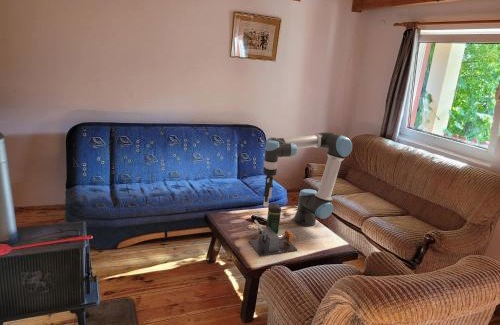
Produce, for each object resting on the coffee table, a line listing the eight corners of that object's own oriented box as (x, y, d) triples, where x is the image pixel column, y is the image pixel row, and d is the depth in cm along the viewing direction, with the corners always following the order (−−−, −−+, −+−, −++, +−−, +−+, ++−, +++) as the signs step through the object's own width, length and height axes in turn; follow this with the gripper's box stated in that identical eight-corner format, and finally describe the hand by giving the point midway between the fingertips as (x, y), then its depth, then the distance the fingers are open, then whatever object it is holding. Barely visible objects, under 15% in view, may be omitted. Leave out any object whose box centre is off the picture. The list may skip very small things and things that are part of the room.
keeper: (260, 231, 208) (262, 230, 208) (265, 236, 202) (267, 235, 203) (253, 220, 203) (255, 218, 204) (257, 225, 198) (259, 223, 198)
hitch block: (283, 237, 222) (285, 220, 219) (297, 250, 208) (299, 233, 204) (248, 241, 213) (250, 224, 210) (259, 256, 198) (261, 238, 195)
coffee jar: (279, 235, 224) (282, 208, 219) (266, 234, 223) (269, 207, 218) (277, 228, 233) (280, 202, 228) (265, 227, 233) (267, 201, 227)
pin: (286, 238, 217) (288, 229, 215) (291, 243, 211) (292, 234, 210) (264, 241, 211) (265, 232, 209) (269, 246, 206) (270, 237, 204)
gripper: (266, 160, 215) (264, 193, 221) (260, 173, 192) (257, 209, 198) (279, 162, 214) (276, 194, 220) (274, 175, 191) (271, 211, 197)
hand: (267, 201), depth 209 cm, fingers open, 13 cm apart
